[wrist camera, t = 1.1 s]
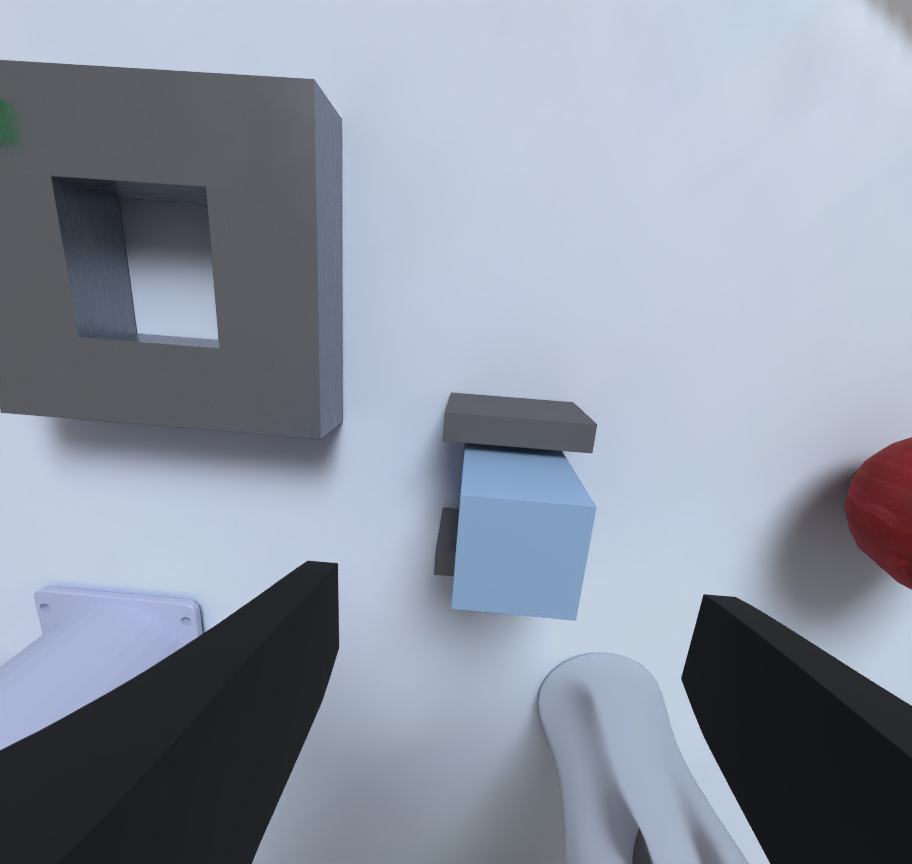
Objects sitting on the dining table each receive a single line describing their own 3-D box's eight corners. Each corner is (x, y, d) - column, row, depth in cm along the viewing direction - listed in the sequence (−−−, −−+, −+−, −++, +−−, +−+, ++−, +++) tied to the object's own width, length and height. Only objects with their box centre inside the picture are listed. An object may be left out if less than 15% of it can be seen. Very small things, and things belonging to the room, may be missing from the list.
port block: (342, 421, 18) (314, 444, 15) (67, 399, 18) (-17, 416, 15) (341, 119, 15) (306, 67, 12) (10, 97, 15) (-110, 42, 12)
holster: (552, 537, 19) (569, 586, 15) (441, 527, 19) (434, 574, 16) (573, 402, 17) (597, 424, 14) (451, 392, 17) (445, 412, 14)
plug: (539, 508, 18) (575, 620, 12) (460, 501, 19) (451, 608, 12) (550, 432, 17) (596, 506, 11) (466, 425, 18) (460, 495, 11)
